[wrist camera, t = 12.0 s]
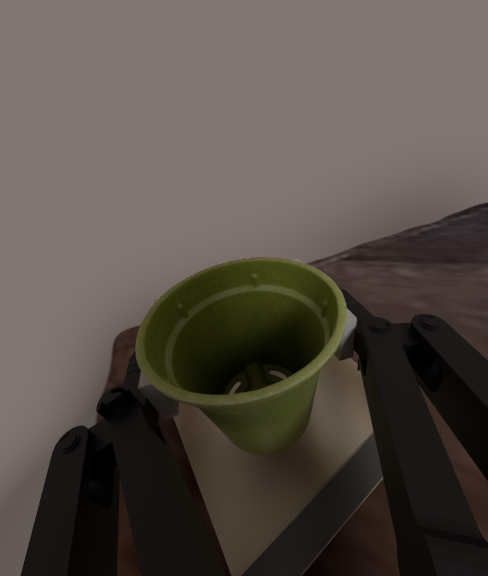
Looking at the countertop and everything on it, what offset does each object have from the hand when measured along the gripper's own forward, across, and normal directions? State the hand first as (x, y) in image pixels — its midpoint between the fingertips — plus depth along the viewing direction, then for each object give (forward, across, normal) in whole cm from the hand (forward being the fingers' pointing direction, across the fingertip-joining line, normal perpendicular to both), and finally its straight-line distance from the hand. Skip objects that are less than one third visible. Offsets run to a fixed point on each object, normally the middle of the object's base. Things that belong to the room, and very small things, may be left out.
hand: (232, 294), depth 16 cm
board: (-5, +1, -9) cm, 10 cm away
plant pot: (-5, 0, -6) cm, 8 cm away
